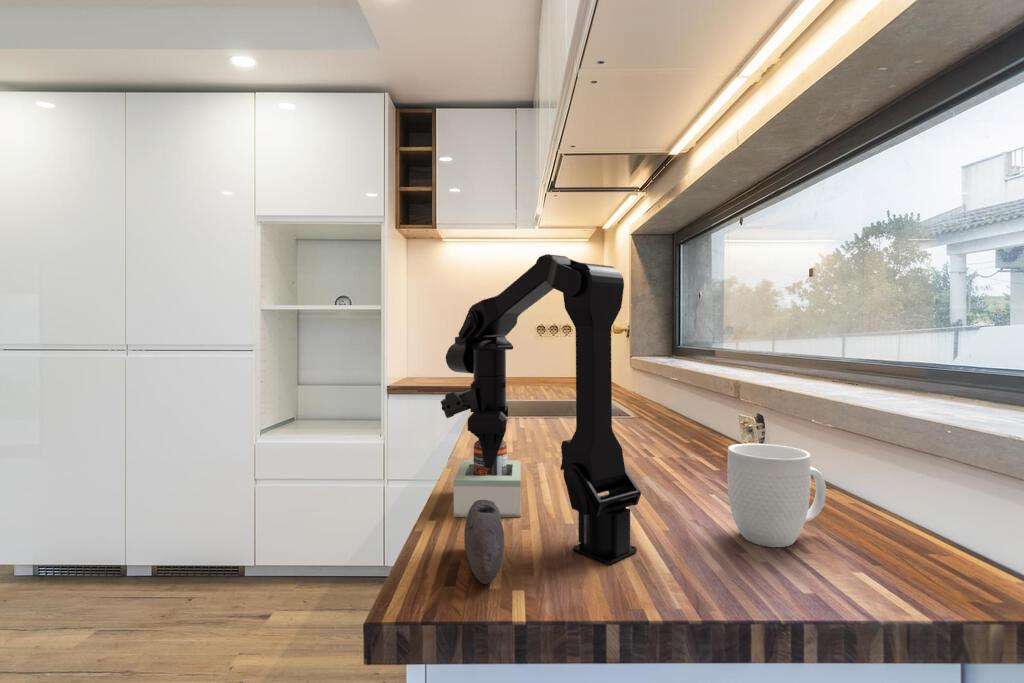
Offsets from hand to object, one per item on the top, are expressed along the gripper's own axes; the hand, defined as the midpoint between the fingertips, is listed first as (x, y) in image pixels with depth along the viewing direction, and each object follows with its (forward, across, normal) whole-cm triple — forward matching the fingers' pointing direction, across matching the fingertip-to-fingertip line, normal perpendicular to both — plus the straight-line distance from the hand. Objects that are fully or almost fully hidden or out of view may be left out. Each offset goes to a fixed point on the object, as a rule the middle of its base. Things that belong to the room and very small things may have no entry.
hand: (490, 463), depth 96 cm
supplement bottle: (+5, 0, 0) cm, 5 cm away
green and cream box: (+7, 0, 0) cm, 7 cm away
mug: (+8, +16, +43) cm, 46 cm away
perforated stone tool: (+8, +26, +1) cm, 27 cm away
